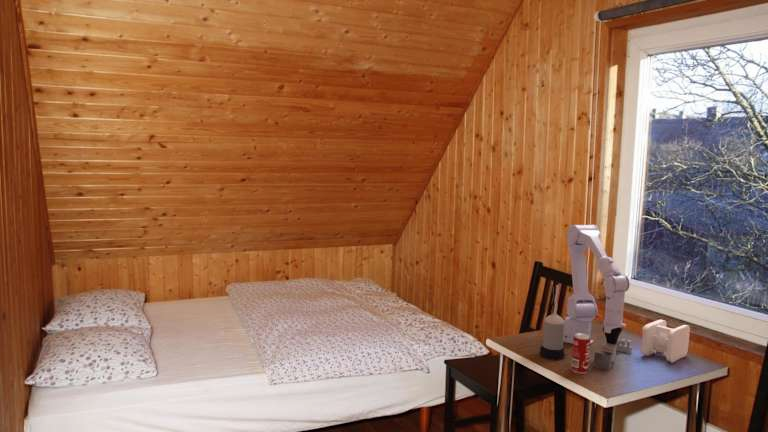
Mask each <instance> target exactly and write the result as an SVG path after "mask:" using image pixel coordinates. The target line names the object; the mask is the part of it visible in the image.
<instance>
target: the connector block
mask: <svg viewBox="0 0 768 432" xmlns="http://www.w3.org/2000/svg"><path fill="white" fill-rule="evenodd" d="M593 355H594V357H593V367H594V368H598V369H601V370H604V371H605V370H606V371H610V370H611V369H612V368H613V362H612V358H613V353H610V352H606V351H601V349H596V350H595V351H594V354H593Z"/></svg>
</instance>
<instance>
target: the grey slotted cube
mask: <svg viewBox="0 0 768 432" xmlns="http://www.w3.org/2000/svg"><path fill="white" fill-rule="evenodd" d="M616 346H617V345H614V344H610V343H607V342H606V341H605V342H603V343H602V344H601V346H600V350H601V349H602V350H606V351H611V352H612V353H613V358H612V363H613V362H614V361H615V360H616V356H617V351H616Z"/></svg>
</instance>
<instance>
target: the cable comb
mask: <svg viewBox="0 0 768 432" xmlns="http://www.w3.org/2000/svg"><path fill="white" fill-rule="evenodd" d="M619 339H620V338H619V337H618V340H617V342H619V341H620V340H619ZM631 342H632V340H631V339H628V340H627V341H626V338H623V339H621V344H620V345H619V346H618V347H617V348H616V352H622V353H627V354H631V353H632V351H633V346H631Z"/></svg>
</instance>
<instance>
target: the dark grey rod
mask: <svg viewBox="0 0 768 432" xmlns="http://www.w3.org/2000/svg"><path fill="white" fill-rule="evenodd" d="M620 344H622V340H618V342H617V343H616V345H617V346H616V348H617V347H618V346H619V345H620ZM600 350H601V351H606V350H602V349H601V348H600ZM606 352H610V353H612V352H611V351H606Z"/></svg>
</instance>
